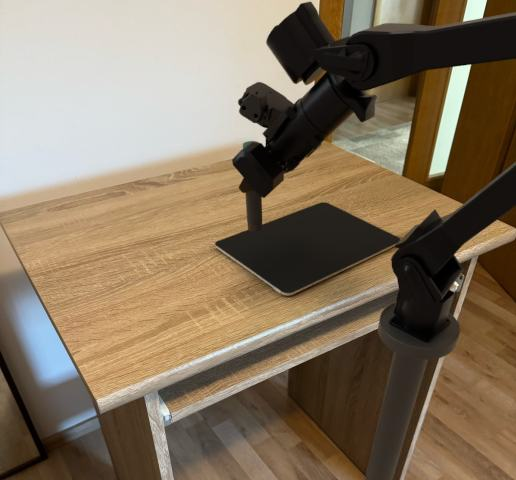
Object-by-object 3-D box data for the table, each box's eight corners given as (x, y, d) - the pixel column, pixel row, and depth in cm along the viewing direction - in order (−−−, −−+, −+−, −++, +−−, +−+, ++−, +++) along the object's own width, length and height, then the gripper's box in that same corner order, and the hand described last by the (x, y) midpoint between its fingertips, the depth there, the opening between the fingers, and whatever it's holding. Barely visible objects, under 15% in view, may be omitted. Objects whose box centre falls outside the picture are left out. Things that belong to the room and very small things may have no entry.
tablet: (286, 295, 73) (211, 243, 85) (285, 299, 73) (211, 246, 85) (403, 239, 85) (324, 201, 97) (402, 243, 85) (323, 204, 97)
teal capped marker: (265, 228, 76) (263, 144, 68) (253, 233, 75) (248, 147, 67) (257, 223, 78) (253, 139, 69) (244, 227, 77) (239, 143, 68)
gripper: (304, 47, 66) (237, 124, 77) (241, 79, 54) (173, 165, 65) (354, 114, 69) (283, 179, 80) (306, 159, 56) (229, 229, 67)
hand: (245, 186), depth 73 cm, fingers closed on teal capped marker, 2 cm apart
